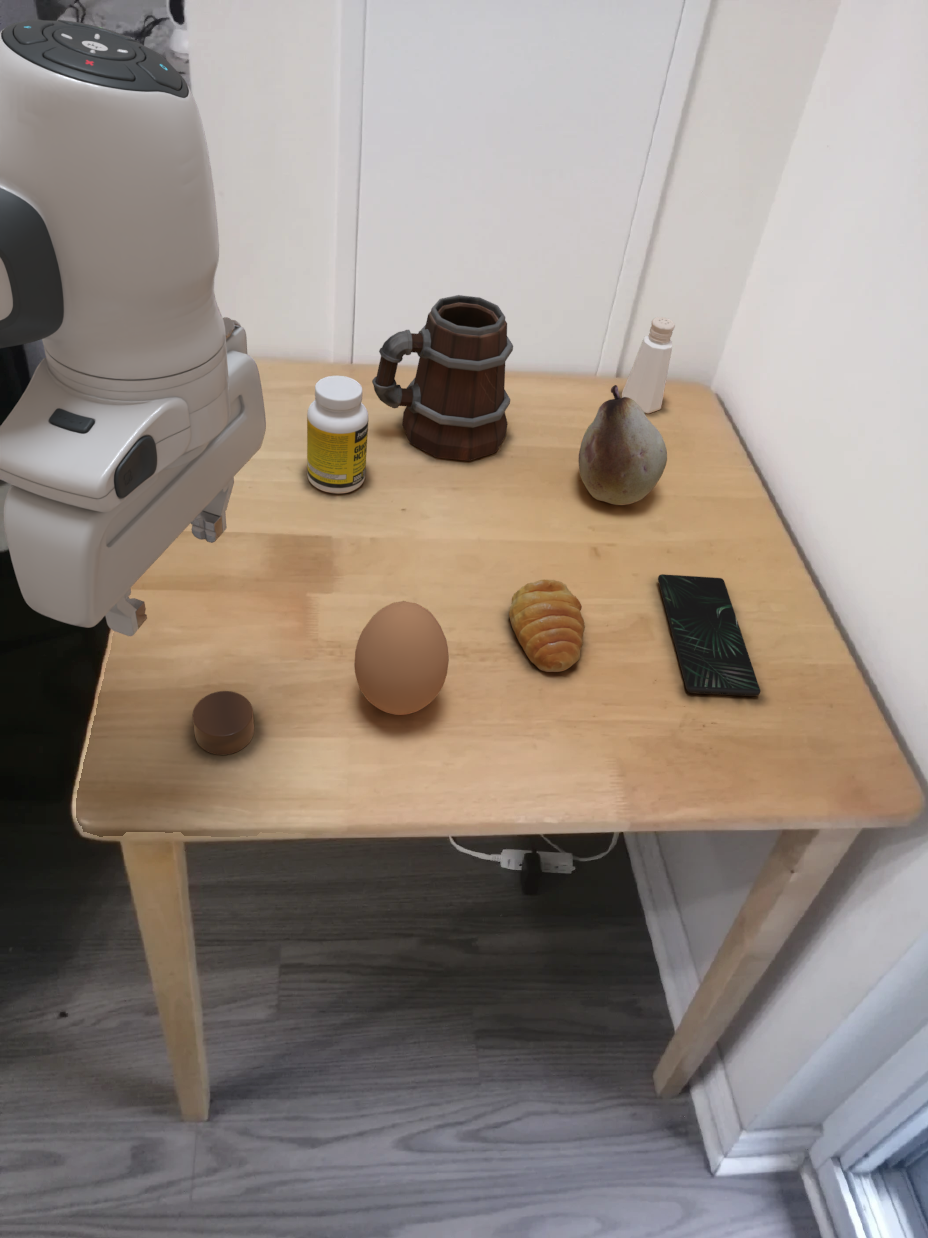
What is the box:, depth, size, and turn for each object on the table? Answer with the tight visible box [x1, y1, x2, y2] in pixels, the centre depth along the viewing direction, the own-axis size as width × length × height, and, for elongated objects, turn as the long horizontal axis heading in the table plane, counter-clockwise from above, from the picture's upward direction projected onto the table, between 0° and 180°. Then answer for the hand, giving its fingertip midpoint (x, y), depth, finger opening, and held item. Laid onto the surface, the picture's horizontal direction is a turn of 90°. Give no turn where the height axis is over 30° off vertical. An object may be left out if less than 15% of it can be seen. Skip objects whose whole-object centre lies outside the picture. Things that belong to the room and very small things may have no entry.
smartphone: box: [657, 573, 761, 697], centre depth 89 cm, size 7×1×15 cm
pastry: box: [508, 579, 586, 673], centre depth 85 cm, size 9×7×4 cm
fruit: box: [578, 384, 668, 506], centre depth 100 cm, size 10×9×12 cm
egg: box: [353, 600, 450, 716], centre depth 76 cm, size 8×8×11 cm
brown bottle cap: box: [192, 690, 255, 756], centre depth 74 cm, size 5×5×2 cm
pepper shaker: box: [621, 316, 676, 414], centre depth 115 cm, size 5×5×11 cm
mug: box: [371, 294, 514, 462], centre depth 103 cm, size 16×12×15 cm
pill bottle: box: [306, 375, 369, 494], centre depth 96 cm, size 6×6×11 cm
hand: (171, 577), depth 59 cm, fingers open, 8 cm apart
